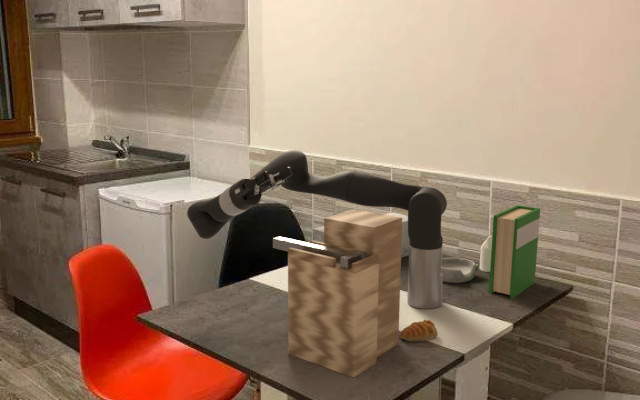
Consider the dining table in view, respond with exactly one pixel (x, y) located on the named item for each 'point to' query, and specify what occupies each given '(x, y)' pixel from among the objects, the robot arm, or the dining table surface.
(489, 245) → the white bottle
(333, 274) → the stand
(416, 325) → the pastry
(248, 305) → the dining table surface
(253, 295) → the dining table surface
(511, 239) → the hardback book
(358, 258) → the t handle
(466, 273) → the dish
